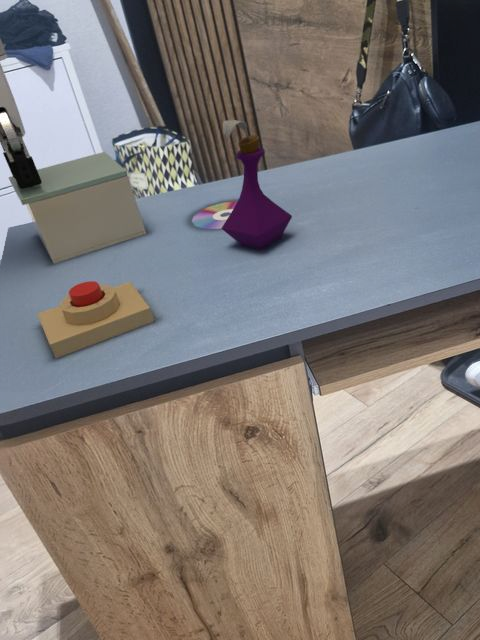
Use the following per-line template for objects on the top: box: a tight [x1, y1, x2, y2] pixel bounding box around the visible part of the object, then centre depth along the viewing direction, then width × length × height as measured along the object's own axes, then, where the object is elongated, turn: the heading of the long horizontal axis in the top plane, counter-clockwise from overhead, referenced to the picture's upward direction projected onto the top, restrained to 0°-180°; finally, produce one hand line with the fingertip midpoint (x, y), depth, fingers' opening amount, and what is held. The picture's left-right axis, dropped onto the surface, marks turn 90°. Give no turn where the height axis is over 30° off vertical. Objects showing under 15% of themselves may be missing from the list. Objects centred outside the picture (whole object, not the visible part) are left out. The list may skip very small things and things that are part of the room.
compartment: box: [25, 175, 147, 264], centre depth 102 cm, size 15×14×10 cm
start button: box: [68, 280, 104, 307], centre depth 78 cm, size 4×4×2 cm
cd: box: [191, 200, 238, 230], centre depth 105 cm, size 11×11×1 cm
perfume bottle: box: [221, 119, 293, 250], centre depth 90 cm, size 8×8×18 cm
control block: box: [37, 281, 155, 359], centre depth 79 cm, size 12×9×4 cm
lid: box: [8, 151, 128, 206], centre depth 98 cm, size 15×14×6 cm
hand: (27, 179), depth 96 cm, fingers closed on lid, 5 cm apart
